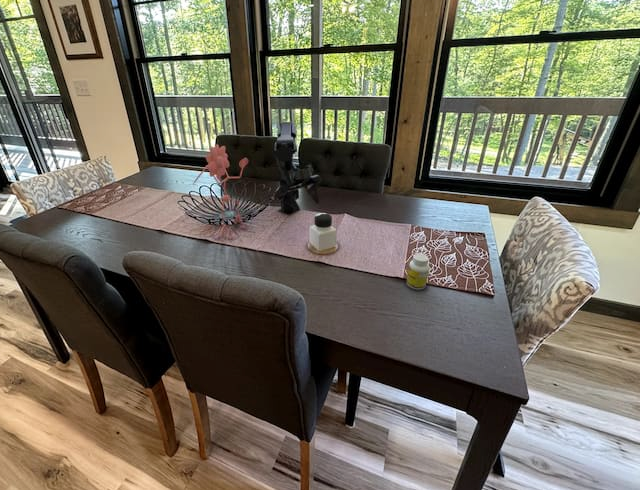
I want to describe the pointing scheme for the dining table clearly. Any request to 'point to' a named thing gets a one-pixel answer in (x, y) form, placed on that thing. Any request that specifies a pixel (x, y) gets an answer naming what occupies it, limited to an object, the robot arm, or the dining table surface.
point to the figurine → (217, 168)
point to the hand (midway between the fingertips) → (308, 206)
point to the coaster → (327, 251)
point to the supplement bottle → (418, 272)
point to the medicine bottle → (323, 232)
